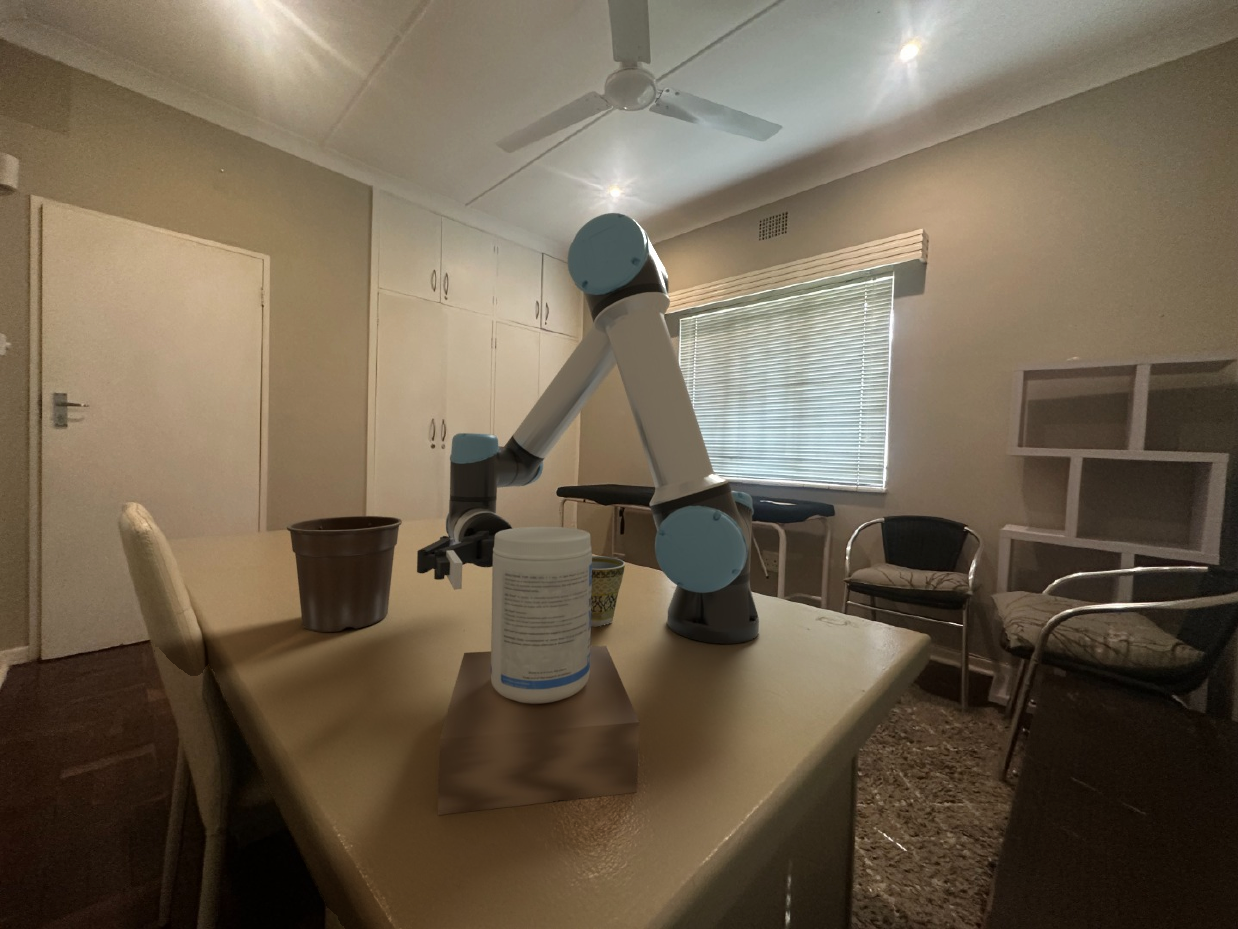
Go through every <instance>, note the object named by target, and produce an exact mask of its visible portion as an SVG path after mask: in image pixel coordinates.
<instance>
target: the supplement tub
mask: <svg viewBox="0 0 1238 929" xmlns="http://www.w3.org/2000/svg"><path fill="white" fill-rule="evenodd" d="M512 528H513V527H512ZM592 549H593V548H592V544H591V534H590V532H588V531H587V530H583V529H580V528H572V527H563V526H562V527H561V526H526V527H525V526H524V527H514V528H513V529H507V530H503V531H500V532H498V533H496V534H495V542H494V548H493V567H491V569H492V574H491V578H492V579H491V585H492V586H491V633H490V634H491V637H490V638H491V642H490V643H491V645H490V646H491V647H490V648H491V649H490V651H491V682H492V685H493V687H494V689H495V690H496V691H497V692H498V693H499V694H500V695H502V696H504V697H506V698H508V699H511V700H515V701H518V702H522V703H530V704H540V703H549V702H554V701H559V700H562V699H565V698H568V697H570V696H572V695H574V694H575V693H577V692H578V691H580V690H581V689H582V688H583V687H584V686H585V685H586V683H587V681H588V679H589V674H590V646H591V632H592V631H591V628H592V626H591V587H592V556H593V552H592Z"/></svg>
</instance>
